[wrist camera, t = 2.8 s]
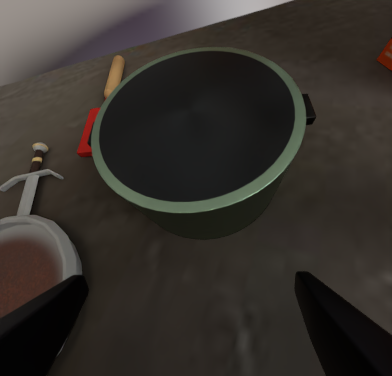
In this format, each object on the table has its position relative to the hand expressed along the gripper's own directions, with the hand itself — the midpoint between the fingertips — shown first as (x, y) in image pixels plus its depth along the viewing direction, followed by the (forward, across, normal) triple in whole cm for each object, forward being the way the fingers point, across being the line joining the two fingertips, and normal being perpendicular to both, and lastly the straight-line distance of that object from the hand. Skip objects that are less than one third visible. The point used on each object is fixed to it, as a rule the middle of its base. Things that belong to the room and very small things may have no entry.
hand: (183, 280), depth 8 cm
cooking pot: (+15, 0, -1) cm, 15 cm away
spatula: (+25, +14, -10) cm, 30 cm away
